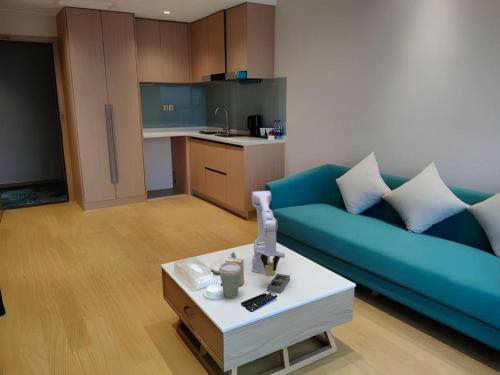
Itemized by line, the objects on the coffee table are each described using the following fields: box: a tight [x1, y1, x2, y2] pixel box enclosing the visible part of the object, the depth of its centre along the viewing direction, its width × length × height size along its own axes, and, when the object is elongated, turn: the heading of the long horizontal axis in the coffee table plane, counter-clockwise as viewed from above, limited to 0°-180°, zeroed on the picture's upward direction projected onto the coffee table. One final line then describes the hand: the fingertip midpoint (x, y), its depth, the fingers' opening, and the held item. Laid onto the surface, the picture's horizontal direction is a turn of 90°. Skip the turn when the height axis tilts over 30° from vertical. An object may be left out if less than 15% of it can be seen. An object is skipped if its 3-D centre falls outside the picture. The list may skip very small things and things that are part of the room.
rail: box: [266, 273, 291, 294], centre depth 194 cm, size 7×16×2 cm, turn 158°
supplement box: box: [226, 257, 245, 287], centre depth 196 cm, size 8×5×13 cm, turn 71°
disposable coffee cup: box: [219, 262, 241, 299], centre depth 183 cm, size 11×11×15 cm
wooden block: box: [264, 261, 277, 278], centre depth 191 cm, size 4×4×6 cm
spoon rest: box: [210, 251, 237, 275], centre depth 217 cm, size 24×12×7 cm, turn 162°
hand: (270, 269), depth 191 cm, fingers closed on wooden block, 4 cm apart
